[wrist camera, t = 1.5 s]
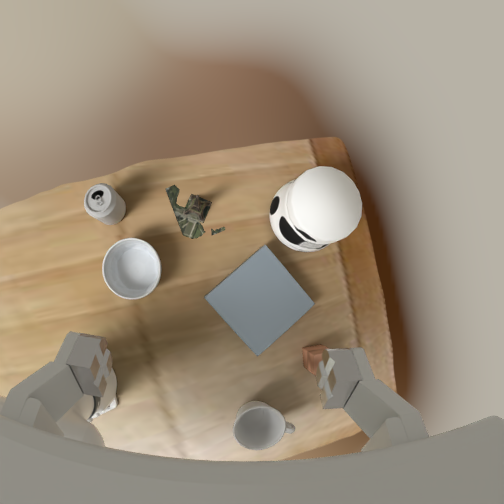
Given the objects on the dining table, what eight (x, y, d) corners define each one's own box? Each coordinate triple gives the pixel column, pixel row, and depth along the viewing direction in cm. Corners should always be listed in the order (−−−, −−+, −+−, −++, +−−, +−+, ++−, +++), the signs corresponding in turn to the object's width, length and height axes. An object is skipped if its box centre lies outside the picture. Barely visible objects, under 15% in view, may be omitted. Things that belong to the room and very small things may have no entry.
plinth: (254, 352, 73) (257, 356, 69) (204, 296, 72) (204, 297, 69) (309, 302, 77) (315, 303, 73) (262, 246, 76) (265, 244, 72)
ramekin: (104, 288, 69) (95, 289, 62) (118, 234, 70) (111, 230, 63) (156, 304, 71) (152, 307, 64) (171, 249, 72) (168, 246, 65)
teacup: (280, 434, 73) (290, 452, 63) (224, 428, 71) (228, 447, 61) (291, 394, 74) (303, 409, 64) (233, 387, 72) (239, 402, 62)
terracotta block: (322, 362, 76) (334, 371, 68) (303, 366, 75) (314, 375, 67) (321, 344, 76) (333, 351, 68) (302, 347, 75) (313, 355, 68)
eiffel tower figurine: (164, 188, 73) (158, 171, 60) (203, 173, 75) (205, 153, 62) (187, 246, 73) (184, 239, 60) (226, 229, 75) (233, 220, 62)
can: (122, 190, 71) (110, 175, 59) (130, 219, 71) (118, 209, 59) (95, 201, 70) (78, 188, 58) (102, 229, 70) (85, 221, 58)
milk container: (306, 172, 79) (334, 146, 61) (344, 228, 80) (381, 216, 62) (252, 208, 76) (268, 188, 58) (293, 267, 77) (320, 264, 59)
